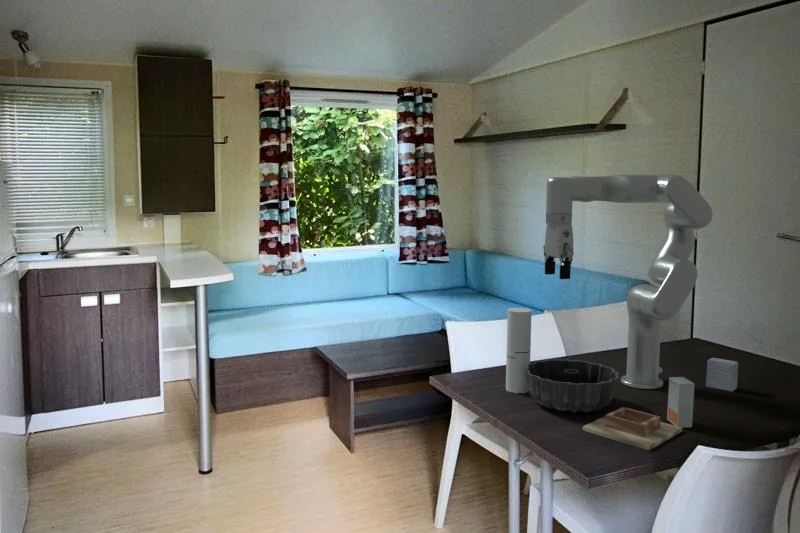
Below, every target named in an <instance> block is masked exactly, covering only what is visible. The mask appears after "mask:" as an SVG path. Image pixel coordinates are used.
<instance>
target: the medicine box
mask: <svg viewBox="0 0 800 533" xmlns="http://www.w3.org/2000/svg"><path fill="white" fill-rule="evenodd" d="M706 366H707V368H706V379H705V380H706V382H705V387H707V388H712V389H717V390H723V391H727V392H734V391H735V390H736V389H737V388H738V376H739V375H738V372H739V362H738V361H736V360H735V361H734V360H729V359H723V358H716V357H711V358H709V359H708V360H707V364H706Z"/></svg>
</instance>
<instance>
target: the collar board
mask: <svg viewBox="0 0 800 533" xmlns="http://www.w3.org/2000/svg"><path fill="white" fill-rule="evenodd" d="M661 419H662V417H661V416H660V415H656V414H652V413H650V412H649V413H648V412H645V411H641V410H636V409H633V408H629V407H626V406H622V407H620V408H618V409H615V410H613V411H611V412H609V413H607V414H605V415H604V416H603V417H600V418H598V419H596V420H594V421H592V422H589V423H587V424H585V425H583V426H582V431H584V432H588V433H590V434H593V435H597V436H600V437H603V438H607V439H611V440H614V441H615V442H619V443H623V444H626V445H629V446H632V447H635V448H638V449H643V450H646V451H650V450H653V449H654V448H656V447H657V446H659V445H661V444H662V443H665V442H666V441H668V440H670V439H671V438H674V437H676V436H677V435H678V434H680V433H682V432H683V428H681V427H678V426H675V425H674V424H670V423H666V422H664V421H663V422H662V421H661Z"/></svg>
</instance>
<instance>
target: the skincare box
mask: <svg viewBox="0 0 800 533" xmlns="http://www.w3.org/2000/svg"><path fill="white" fill-rule="evenodd" d="M694 397H695V383H694V382H693V381H691V380H690V379H687V378H686V377H685V376H672V377H671V376H670V377H669V378H668V397H667V410H666V412H667V413H666V420H667V421H668V422H670V423H671V425H674V426H678V427H681V428H682V429H684V428H692V427H693V417H694V415H693V414H694V399H695V398H694Z"/></svg>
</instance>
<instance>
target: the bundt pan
mask: <svg viewBox="0 0 800 533" xmlns="http://www.w3.org/2000/svg"><path fill="white" fill-rule="evenodd" d="M524 371H525V372H526V377H527V385H528V391H529V392H528V393H529V395H530V396H531V398H532V399H533V400H534V401H536V402H537V403H538V404H539V405H542V406H545V408H547V409H548V410H553V409H555V410H556V411H560V412H567V411H570V412H571V413H572V414H574V413H577V412H578V411H579V412H580V413H588V412H592V411H593V412H599V411H601V410H602V409H603V408H605V407H607V406H608V405H609V404H611V402H612V401H613V398H614V394H615V390H616V386H617V385H616V384H617V381H618V380H619V377H620V373H619V372H618V371H616V370H615V369H614V368H612V367H610V366H606V365H603V364H602V363H593V362H591V361H586V360H578V359H577V360H574V359H573V360H572V359H567V358H566V359H545V360H542V361H541V360H538V361H537V360H536V361H535V362H532V363H531V362H530V364H528V365H527V366H526V368H525V369H524Z"/></svg>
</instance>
